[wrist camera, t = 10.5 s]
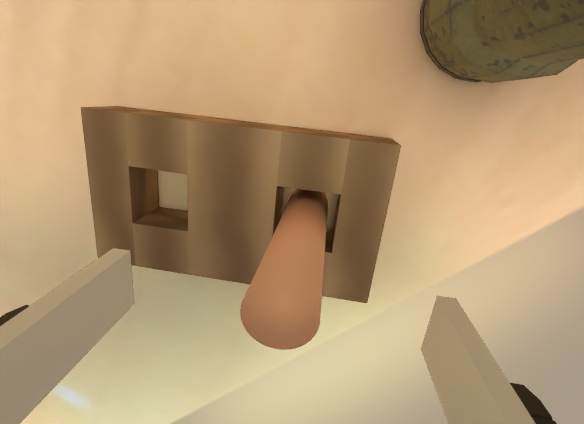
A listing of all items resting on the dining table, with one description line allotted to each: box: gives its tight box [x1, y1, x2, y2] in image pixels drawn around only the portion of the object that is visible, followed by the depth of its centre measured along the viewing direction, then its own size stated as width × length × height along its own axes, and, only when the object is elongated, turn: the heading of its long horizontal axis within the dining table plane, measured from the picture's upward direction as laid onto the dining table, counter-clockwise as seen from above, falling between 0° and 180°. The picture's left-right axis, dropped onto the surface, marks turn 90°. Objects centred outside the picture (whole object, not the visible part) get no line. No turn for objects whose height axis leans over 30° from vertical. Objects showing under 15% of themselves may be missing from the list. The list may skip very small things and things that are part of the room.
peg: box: [240, 189, 328, 349], centre depth 20 cm, size 3×3×15 cm
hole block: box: [81, 106, 401, 303], centre depth 25 cm, size 22×12×4 cm, turn 84°
